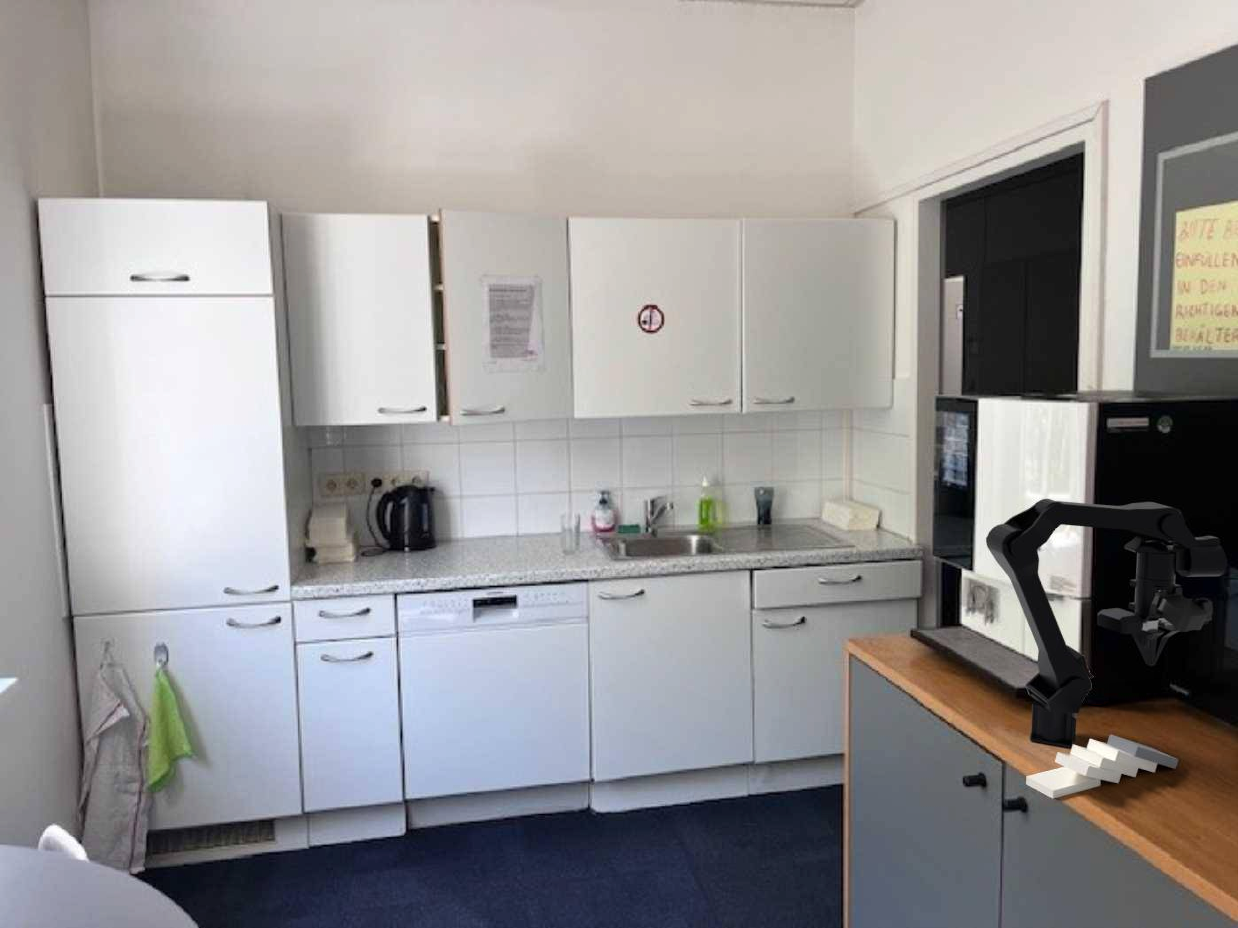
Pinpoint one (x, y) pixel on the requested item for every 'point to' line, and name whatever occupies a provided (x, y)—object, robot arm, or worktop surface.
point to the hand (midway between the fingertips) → (1150, 664)
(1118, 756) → the domino
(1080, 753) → the domino
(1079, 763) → the domino
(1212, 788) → the worktop surface
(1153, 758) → the domino
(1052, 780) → the domino
